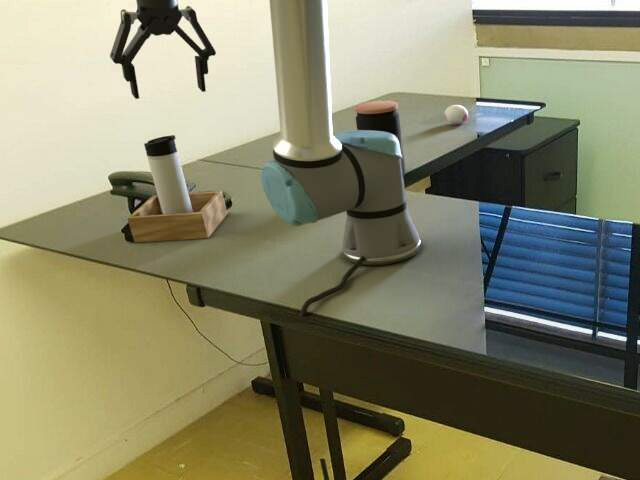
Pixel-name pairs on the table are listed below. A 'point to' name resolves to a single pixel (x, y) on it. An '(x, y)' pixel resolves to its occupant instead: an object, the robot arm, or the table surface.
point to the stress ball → (456, 114)
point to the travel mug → (168, 175)
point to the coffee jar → (380, 120)
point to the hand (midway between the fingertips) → (169, 92)
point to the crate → (178, 219)
